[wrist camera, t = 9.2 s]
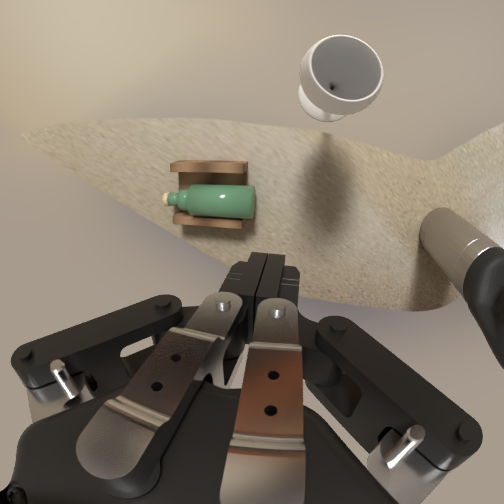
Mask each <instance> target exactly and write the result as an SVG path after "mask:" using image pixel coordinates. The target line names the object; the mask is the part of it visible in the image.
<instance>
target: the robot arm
mask: <svg viewBox="0 0 504 504" xmlns="http://www.w3.org/2000/svg"><path fill="white" fill-rule="evenodd" d="M420 240H421V244H422V246H423V247H424V249H425V250H426V251H427V252H428V253H429V255H430V256H431V257H432V258H433V260H434V261H435V262H436V263H437V264H438V266H439V267H440V268H441V269H442V271H443V272H444V273H445V274H446V276H447V277H448V278H449V280H450V281H451V282H452V283H453V285H454V286H455V287H456V289H457V290H458V291H459V293H460V294H461V295H462V297H463V298H464V299H465V301H466V302H467V304H468V307H469V309H470V312H471V313H472V315H473V316H474V318H475V320H476V321H477V323H478V325H479V327H480V328H481V330H482V332H483V334H484V336H485V338H486V340H487V342H488V344H489V346H490V348H491V349H492V352H493V353H494V355H495V357H496V359H497V360H498V362H499V363H500V365H501V366H502V368H503V369H504V249H503V248H501V247H500V246H499V245H498V244H496V243H495V242H494V241H493V240H491V239H490V238H489V237H487V236H486V235H485V234H484V233H482V232H481V231H480V230H478V229H477V228H476V227H474V226H473V225H472V224H470V223H469V222H467V221H466V220H465V219H463V218H462V217H461V216H459V215H458V214H456V213H455V212H453V211H452V210H450V209H448V208H438V209H435V210H434V211H432V212H431V213H430V214H428V215H427V217H426V218H425V219H424V221H423V223H422V226H421V230H420ZM299 279H300V272H299V271H298V269H297V268H296V267H294V266H285V255H280V254H269V255H268V253H258V252H252V253H251V255H250V257H249V260H248V262H243V261H239V262H237V263H236V264H234V265H233V266H232V267H231V269H230V271H229V273H228V275H227V277H226V279H225V280H224V282H223V284H222V286H221V288H220V290H219V292H217V293H213V294H211V295H209V296H207V297H206V298H205V300H204V301H203V302H202V304H201V305H200V306H192V307H182V303H181V300H180V299H179V298H178V297H176V296H173V295H158V296H155V297H152V298H150V299H147V300H144V301H141V302H139V303H136V304H133V305H131V306H128V307H125V308H122V309H120V310H117V311H114V312H112V313H109V314H106V315H103V316H101V317H98V318H95V319H93V320H90V321H87V322H84V323H81V324H79V325H76V326H73V327H71V328H68V329H65V330H62V331H59V332H57V333H54V334H51V335H48V336H45V337H43V338H40V339H37V340H34V341H31V342H29V343H26V344H24V345H21V346H20V347H18V348H17V349H16V350H15V351H14V353H13V355H12V357H11V365H12V367H13V368H14V370H15V371H16V373H17V374H18V376H19V377H20V379H21V380H22V383H23V384H24V386H25V387H26V389H27V395H28V400H29V407H30V412H31V417H32V422H33V424H31V425H30V426H29V427H28V428H26V430H25V431H24V432H23V434H22V435H21V437H20V439H19V442H18V445H17V453H16V462H15V467H14V472H13V475H12V479H11V481H10V483H9V485H8V486H7V487H6V488H5V489H4V490H2V491H0V504H420V503H421V502H422V501H423V500H424V499H425V498H426V497H427V496H428V495H429V494H430V493H431V492H432V491H433V490H434V489H435V487H436V486H437V485H438V484H439V483H440V482H441V481H442V479H443V478H444V477H445V476H446V475H447V474H448V473H450V472H451V471H453V470H454V469H455V468H456V467H458V466H459V465H460V464H462V463H463V462H464V461H466V460H467V459H468V458H469V457H470V456H472V455H473V454H474V453H475V452H476V451H477V450H478V449H479V448H480V446H481V444H482V439H483V435H482V429H481V427H480V425H479V424H478V422H477V421H476V420H475V419H474V418H472V417H471V416H470V415H469V414H467V413H466V412H465V411H464V410H463V409H461V408H460V407H459V406H458V405H456V404H455V403H454V402H453V401H451V400H450V399H449V398H448V397H447V396H445V395H444V394H443V393H442V392H440V391H439V390H438V389H437V388H435V387H434V386H433V385H432V384H430V383H429V382H428V381H426V380H425V379H424V378H423V377H422V376H420V375H419V374H418V373H417V372H415V371H414V370H413V369H412V368H410V367H409V366H408V365H407V364H405V363H404V362H403V361H402V360H400V359H399V358H398V357H397V356H395V355H394V354H393V353H392V352H390V351H389V350H388V349H386V348H385V347H384V346H383V345H382V344H380V343H379V342H378V341H376V340H375V339H374V338H373V337H371V336H370V335H369V334H368V333H366V332H365V331H364V330H363V329H361V328H360V327H359V326H358V325H356V324H355V323H354V322H352V321H351V320H349V319H347V318H345V317H341V316H328V317H325V318H323V319H321V320H320V321H319V322H318V323H317V322H314V321H311V320H309V319H307V318H305V317H303V316H302V315H301V314H300V313H299V311H298V308H297V303H298V292H299ZM150 336H152V340H153V344H154V345H153V346H150V347H148V348H146V349H143V350H141V351H139V352H136V353H134V354H132V355H129V356H126V357H120V353H121V350H122V349H123V348H124V347H126V346H128V345H131V344H133V343H135V342H138V341H140V340H142V339H145V338H147V337H150ZM245 344H249V349H248V355H247V360H246V366H245V372H244V378H243V383H242V388H241V389H230V386H231V384H232V381H233V379H234V377H235V375H236V372H237V370H238V367H239V365H240V363H241V360H242V357H243V356H242V355H243V354H242V353H243V350H244V347H245ZM303 379H304V380H305V383H306V386H307V387H308V389H309V390H310V391H311V392H312V393H313V394H314V396H315V397H316V398H317V399H318V400H319V401H320V402H321V403H322V404H323V406H325V408H326V409H327V410H328V411H329V412H330V413H331V414H332V415H333V416H334V417H335V418H336V420H337V421H338V422H339V423H340V424H341V425H342V426H343V427H344V428H345V429H346V430H347V431H348V432H349V433H350V435H351V436H352V437H353V438H354V439H355V440H356V441H357V442H358V443H359V444H360V445H361V446H362V447H363V448H364V449H365V450H366V451H367V452H368V453H369V456H368V459H367V467H368V470H369V471H368V470H367V468H366V467H365V466H364V465H363V464H362V463H361V462H360V460H359V459H358V458H357V457H356V456H355V455H354V454H353V452H352V451H351V450H350V449H349V448H348V447H347V446H346V444H345V443H344V442H343V441H342V440H341V439H340V437H339V436H338V435H337V434H336V433H335V431H333V429H332V428H331V427H330V426H329V425H328V423H327V422H326V421H325V420H324V419H323V418H322V417H321V416H320V415H319V414H317V413H316V412H315V411H313V410H312V409H310V408H308V407H306V406H304V405H303Z"/></svg>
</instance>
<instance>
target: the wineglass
mask: <svg viewBox="0 0 504 504" xmlns="http://www.w3.org/2000/svg"><path fill="white" fill-rule="evenodd" d="M383 77H384V71H383V66H382V63H381V60H380V58H379V57H378V55H377V54H376V52H375V51H374V50H373V49H372V48H371V47H370V46H369V45H367V44H366V43H365V42H363V41H362V40H360V39H358V38H355V37H352V36H347V35H333V36H329V37H326V38H324V39H322V40H320V41H319V42H317V43H316V44H315V45H313V46H312V47H311V48H310V49H309V51H308V52H307V53H306V55H305V56H304V58H303V60H302V63H301V67H300V82H301V84H300V86H299V91H298V97H299V101H300V104H301V106H302V108H303V109H304V111H305V112H306V113H307V114H308V115H309V116H311V117H312V118H314V119H316V120H319V121H323V122H333V121H337V120H339V119H342V118H343V117H345V116H346V115H348V114H354V113H356V112H359V111H361V110H363V109H365V108H366V107H368V106H369V105H370V104H371V103H372V102H373V101H374V100H375V99H376V97H377V95H378V94H379V92H380V89H381V86H382V83H383Z"/></svg>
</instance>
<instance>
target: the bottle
mask: <svg viewBox="0 0 504 504" xmlns="http://www.w3.org/2000/svg"><path fill="white" fill-rule="evenodd" d="M163 204H164V206H178V208H179V209H180V210H188V212H189V214H190V215H192V216H210V217H227V218H243V219H252V218H253V215H254V210H255V187H254V186H242V185H213V184H192V185H191V186H190V187H189V189H180V191H179V193H171V192H165V193H164V195H163Z"/></svg>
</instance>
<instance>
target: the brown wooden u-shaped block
mask: <svg viewBox="0 0 504 504" xmlns="http://www.w3.org/2000/svg"><path fill="white" fill-rule="evenodd" d="M247 167H248V162H245V161H177V162H174V163H171V164H170V172H179V191H180V189H189V187H190V186H191V185H192V184H213V185H242V186H247ZM245 223H246V219H243V218H227V217H210V216H192V215H190V214H189V212H188V210H180V211H179V212H178V213H176V214H175V215H174V216H173V224H184V225H197V226H210V227H223V228H235V229H242V228H243V226H244V224H245Z"/></svg>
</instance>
